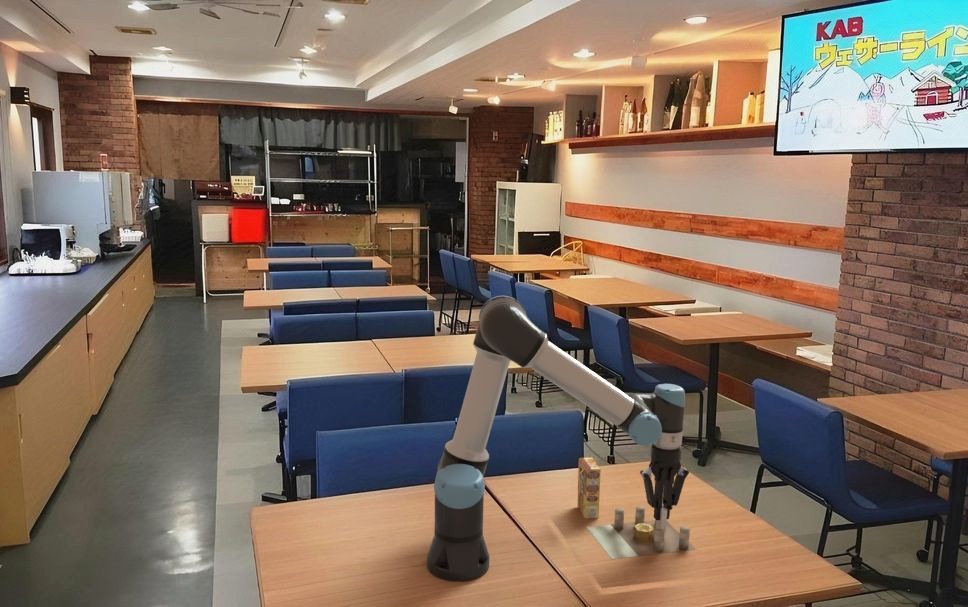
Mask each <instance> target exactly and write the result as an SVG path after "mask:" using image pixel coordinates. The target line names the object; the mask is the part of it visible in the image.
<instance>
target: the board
mask: <svg viewBox="0 0 968 607" xmlns="http://www.w3.org/2000/svg"><path fill="white" fill-rule="evenodd" d="M662 505H663V503H662ZM645 513H646V508H645V507H644V506H643V505H636V506H635V517H634V521H633V522H631V521H630V522H625V509H624V508H621V507H616V508H615V509H614V524H613V523H612V524H605V525H603V524H602V525H594V526H586V529H587V531H588V532H590V534H591V535H592V536H593V537H594V539H595V540H596V541H597V543H598V544H599V545H600V546H601V547H602V548H603V550H604V551H605V552H606V554H607V555H608V556H609V558H610V559H611V560H617V559H624V558H635V557H643V556H644V557H645V556H652V555H653V556H654V555H660V554H670V553H679V552H688V551H696V550H698V549H697V548H696V547H695V546H694V545H692V544H691V543H690V533H691V532H690V531H691V528H690V527H688V526H685V525H681V526H680V527H679V531H678V530H677V529H676V528H675V527H673V525H672V524H670V523H669V522H668V520H666V533H665V531H664V530H663V529H656V519H655V518H654V519H653V520H645ZM639 523H643V524H650V525H651V526H652V527H653V528H654V537H653V540H651V541H649V542H643V541H638V540H637V539H636V538H635V537H634V536H633V535H634V526H635V525H637V524H639Z"/></svg>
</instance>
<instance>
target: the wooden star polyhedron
mask: <svg viewBox="0 0 968 607" xmlns="http://www.w3.org/2000/svg"><path fill="white" fill-rule="evenodd" d="M633 536H634V537H635V538H636V539H637V540H638V541H643V542H649V541H651V540H653V537H654V528H653V527H652V526H651V525H650V524H643V523H639V524H637V525H635V526H634V535H633Z"/></svg>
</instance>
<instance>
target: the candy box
mask: <svg viewBox="0 0 968 607" xmlns="http://www.w3.org/2000/svg"><path fill="white" fill-rule="evenodd" d="M601 469H602V468H600V466H599V465H598V464H597V463H596V461H595V459H594V458H593V457H579V458H578V469H577V470H578V473H577V474H578V477H577V505H576V506H577V509H579V511H580V513H581V515H582V516H583V517H584V519H599V517H600V516H599V515H600V494H601V493H600V492H601V487H600V486H601V471H602V470H601Z"/></svg>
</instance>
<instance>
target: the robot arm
mask: <svg viewBox="0 0 968 607" xmlns="http://www.w3.org/2000/svg"><path fill="white" fill-rule="evenodd" d="M478 321H479V322H478V323H477V329H476V331H475V336H474V338H473V339H474V340H473V342H472V345H473V347H474V349H475V350H476V355H475V357H474V362H473V366H472V369H471V370H472V371H471V373H470V376H469V381H468V384H467V387H466V390H465V391H466V392H465V394H464V398H463V403H462V405H461V409H460V413H459V416H458V420H457V423H456V428H455V431H454V434H453V438H452V439H450V440H449V441H446V443H445V445H444V448H443V451H442V452H443V453H442V456H441V457H440V460H439V462H438V463H437V469H436V476H435V480H434V484H433V489H434V490H433V491H434V534H433V535H434V536H433V537H432V540H431V543H430V545H429V549H428V551H427V553H426V554H427V555H426V568H427V570H428V572H429V573H430V574H431V575H433V576H435V577H437V578H439V579H442V580H444V581H445V580H446V581H452V582H466V581H471V580H475V579H478V578H480V577H482V576H484V575H485V573H487V572H488V570H489V569H490V552H489V550H488V547H487V544H486V540H485V537H484V529H483V528H484V497H485V496H484V494H485V488H486V486H485V480H484V476H485V472H486V470H487V465H488V463H489V459H490V454H489V453H488V451H487V449H486V448H487V444H488V441H489V437H490V433H491V430H492V428H493V423H494V419H495V416H496V413H497V409H498V406H499V401H500V397H501V395H502V391H503V388H504V385H505V380H506V377H507V374H508V370H509V366H510V362H513V363H515V364H516V365H518V366H519V367H521V368H523V369H525V368H526V369H527V368H530V369H531V370H533V371H535V372H536V373H538V374H539V375H541V377H543V378H544V379H547V380H548V381H549V382H550V383H553V384H554V385H555V386H557V387H558V388H560V389H561V390H563V391H564V392H565V393H567V394H568V395H571V397H573V398H575V399H576V400H578V401H579V402H581V403H582V404H583V405H585V406H587V407H588V408H590V410H592V411H593V412H595V413H596V414H598V415H600V416H601V417H602V418H604V419H606V420H607V421H608V422H610V423H611V424H613V425H614V426H616V427H617V428H618V429H620V430H622V431H623V432H624V433H625V434H627V435H629V438H630V439H631V440H632V441H634V443H636V444H637V445H639V446H644V447H646V446H647V447H648V446H650V447H651V448H650V462H649V464H648V468H647V469H645V470H640V471H639V474H640V476H641V477H642V479H643V486H644V489H645V490H644V491H645V496H646V502H647V504H648V505H649V506H650V507H651V508H652V509H653V518H654V520H655V519H656V529H663V530H664V531H665V533H666V521H668V520H669V519H670V513H671V510H673V506H675V507H676V506H677V505H678V503H679V500H680V497H681V494H682V491H683V487H684V484H685V481H686V478H687V477H688V476H689V474H690V471H689V470H688V469H687V468H685V467H684V466H682V464H681V460H682V447H681V446H682V443H683V432H684V418H685V408H686V392H685V389H684V388H683V387H682V386H679V385H678V384H673V383H659V384H656V385H655V387H654V388H655V389H654V392H644V393H643V392H623V391H622V390H621V389H619V388H618V387H616V386H615V385H613V384H612V383H611V382H609V381H608V380H606V379H605V378H603V377H602V376H600V375H599V374H598V373H596V372H594V371H593V370H591V369H590V368H588V367H587V366H586V365H584V364H583V363H582V362H580V361H579V360H577V359H576V358H574V357H573V356H571V355H570V354H569V353H567V352H566V351H564V350H563V349H561V348H559V347H558V346H556V345H555V344H554V343H552V342H551V341H549V339H548V334H547V333H546V332H544V331H543V330H542V329H540V328H539V326H537V325H536V324H534V323H533V322H532V320H531V319H530V318H529V317H528V315H527V311H526V308H525V307H524V305H523V304H522V303H521V302H520V301H519V300H517V299H516V298H514V297H511V296H508V295H496V296H494V297H491V298H490V299H488V300H487V301H486V302H485V303H484V304H483V305H482V307H481V308H480V310H479V315H478ZM652 475H653V476H654V484H653V481H652V478H653V476H652ZM653 485H654V487H653ZM662 504H663V505H662Z"/></svg>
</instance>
